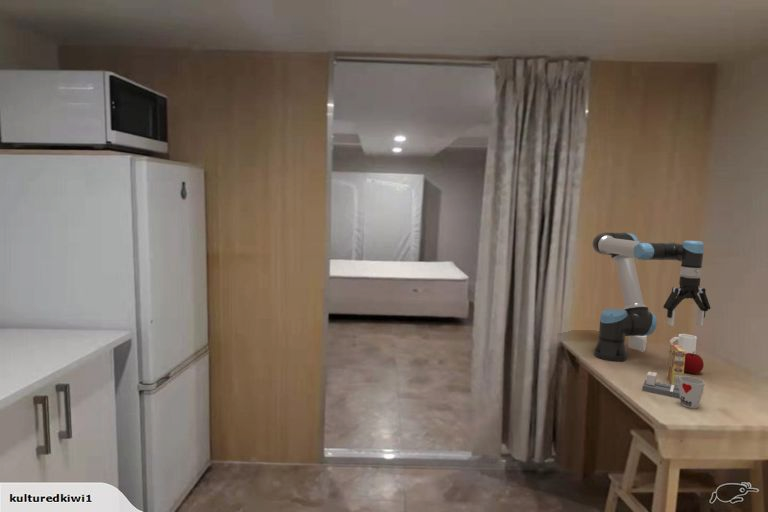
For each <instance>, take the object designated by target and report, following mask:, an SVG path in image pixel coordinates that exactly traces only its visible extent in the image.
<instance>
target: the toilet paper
mask: <svg viewBox="0 0 768 512" xmlns="http://www.w3.org/2000/svg"><path fill="white" fill-rule="evenodd" d="M647 336H648V335H646V336H628V344H627V346H628V347H629V348H630V349H633V350H635V351H639V352H642V353H644V352H645V350H646V347H647V340H648V339H647V338H648V337H647Z"/></svg>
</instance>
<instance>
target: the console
mask: <svg viewBox="0 0 768 512" xmlns="http://www.w3.org/2000/svg"><path fill="white" fill-rule="evenodd" d="M646 381H647V379H645V380H644V381H643V384H642V389H641V390H642V391H644V392H648V393H652V394H656V395H657V394H658V395H661V396H667V397H671V398H675V399H679V398H680V395H679V386H676V385H672V384H671V383H665V382H659V381H656V383H655V386H652V385H648V384H646Z"/></svg>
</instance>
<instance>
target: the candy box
mask: <svg viewBox="0 0 768 512" xmlns="http://www.w3.org/2000/svg"><path fill="white" fill-rule="evenodd" d="M685 353H686V351H685V350H684V349H683V348H682V347H681V346H679V345H678V344H673V345H670V344H669V356H668V364H667V365H668V366H667V380H668V381H669V382H670V383H669V384H670V385H675V386H679V377H681V376H685V373H684V372H685V371H684V364H685Z"/></svg>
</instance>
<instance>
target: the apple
mask: <svg viewBox="0 0 768 512" xmlns="http://www.w3.org/2000/svg"><path fill="white" fill-rule="evenodd" d="M693 353H694V352H693ZM703 369H704V360H703V358H702V357H701V355H698V354H696V353H695V354H692V353H686V354H685V364H684V372H686V373H688V374H694V375H695V374H699V373H701V372H702V371H703Z"/></svg>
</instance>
